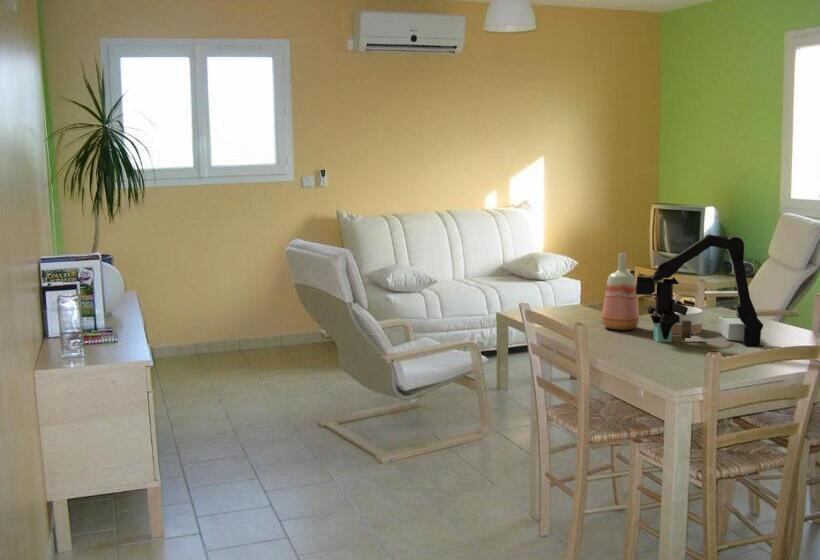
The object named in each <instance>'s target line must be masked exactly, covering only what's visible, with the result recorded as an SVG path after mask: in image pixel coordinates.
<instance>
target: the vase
mask: <svg viewBox="0 0 820 560" xmlns="http://www.w3.org/2000/svg"><path fill="white" fill-rule="evenodd" d="M626 256H627V255H626V253H625V252H620V253H618V260H617V261H618V265H617V270H616V271H614V272H612V273H610V274H609V275H608V277H607V281H606V282H607V283H606V287H605V291H604V292H605V294H604V298H603V299H604V300H603V303H602V304H603V307H602V311H601V316H600V317H601V320H600V322H601V324H602V325H603V326H604V327H605V328H607V329H610V330H614V331H615V330H616V331H631V330H633V329H635V328H637V327H638V326H639V323H640V313H639V312H640V311H639V304H638V303H639V302H638V296H637V295H636V284H637V283H636V278H635V276H634V274H632V273H631V272H628V271H627V269H626V266H627V264H626V263H627V261H626V260H627V257H626Z"/></svg>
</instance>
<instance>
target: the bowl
mask: <svg viewBox="0 0 820 560" xmlns="http://www.w3.org/2000/svg"><path fill="white" fill-rule="evenodd" d="M684 306H685V307H687V308H688V310H687V313H686V315H685V316H684V315H682V314H680V313H677V312H675V314H677V315H678V316H679V317H680V322H679V323H676V324H674V325H673V326H672V335H681V330H682V320H689V321H691V334H693V335H695V334H694V333H699V334H701V333H702V328H703V313H704V312H703V309H701V308H698V307H694V306H688V305H684ZM700 332H701V333H700Z"/></svg>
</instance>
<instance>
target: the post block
mask: <svg viewBox="0 0 820 560" xmlns="http://www.w3.org/2000/svg"><path fill="white" fill-rule="evenodd" d="M693 336H700V335H699V334H693ZM685 338H691V321H689V320H682V330H681V335H677V334H672V342H671V343H683V342H682V341H685ZM704 340H706V339H705V338H704Z"/></svg>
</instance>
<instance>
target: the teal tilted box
mask: <svg viewBox="0 0 820 560" xmlns="http://www.w3.org/2000/svg"><path fill="white" fill-rule="evenodd" d="M672 335H673V334H672V327H671V329H670V332H669V335H668V338H667V339H664V338H663V335H662V331H661V328H660V324H659V323H653V336H652V337H653V340H654V341H655V342H657V343H673V342H672Z"/></svg>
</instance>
